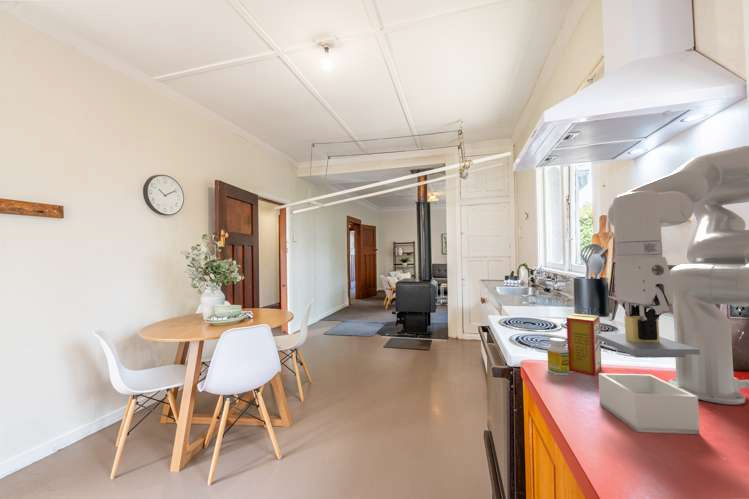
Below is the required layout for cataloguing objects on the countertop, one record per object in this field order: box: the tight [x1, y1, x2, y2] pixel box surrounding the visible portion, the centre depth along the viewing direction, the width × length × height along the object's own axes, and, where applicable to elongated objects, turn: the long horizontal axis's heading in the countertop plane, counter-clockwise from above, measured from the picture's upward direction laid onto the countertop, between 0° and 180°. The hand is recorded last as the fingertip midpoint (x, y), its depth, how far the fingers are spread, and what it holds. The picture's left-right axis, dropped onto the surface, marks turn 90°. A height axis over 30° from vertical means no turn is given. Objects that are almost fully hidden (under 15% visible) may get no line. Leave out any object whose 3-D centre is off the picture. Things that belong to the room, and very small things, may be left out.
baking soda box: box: [566, 313, 602, 377], centre depth 90 cm, size 10×6×16 cm
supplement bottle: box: [547, 337, 570, 376], centre depth 88 cm, size 5×5×10 cm
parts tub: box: [598, 372, 701, 435], centre depth 63 cm, size 11×11×7 cm
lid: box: [596, 315, 700, 358], centre depth 63 cm, size 12×12×7 cm
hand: (642, 336), depth 63 cm, fingers closed on lid
